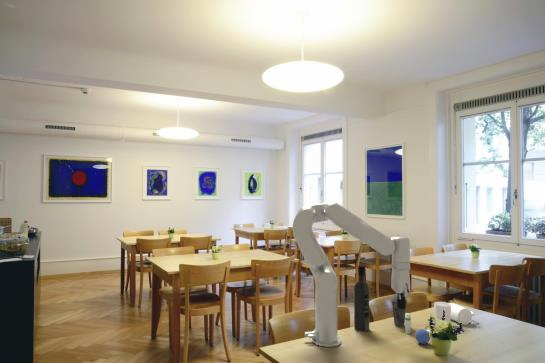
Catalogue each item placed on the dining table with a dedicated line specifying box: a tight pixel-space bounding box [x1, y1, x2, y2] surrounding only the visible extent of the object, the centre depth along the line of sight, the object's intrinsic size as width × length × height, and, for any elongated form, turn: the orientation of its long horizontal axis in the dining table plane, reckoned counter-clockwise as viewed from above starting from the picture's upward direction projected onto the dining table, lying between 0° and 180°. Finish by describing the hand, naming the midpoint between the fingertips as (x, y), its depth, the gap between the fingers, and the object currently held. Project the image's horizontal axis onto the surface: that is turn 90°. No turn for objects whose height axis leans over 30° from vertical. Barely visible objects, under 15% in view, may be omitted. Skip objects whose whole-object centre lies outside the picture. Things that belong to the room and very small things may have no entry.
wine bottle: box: [353, 264, 370, 333], centre depth 181 cm, size 6×6×30 cm
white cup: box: [433, 301, 452, 323], centre depth 187 cm, size 8×8×10 cm
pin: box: [404, 312, 412, 335], centre depth 176 cm, size 2×2×9 cm
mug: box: [449, 302, 476, 326], centre depth 192 cm, size 12×10×8 cm
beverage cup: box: [391, 293, 408, 328], centre depth 186 cm, size 7×7×20 cm
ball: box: [414, 328, 431, 345], centre depth 163 cm, size 6×6×6 cm
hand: (401, 307), depth 164 cm, fingers closed
